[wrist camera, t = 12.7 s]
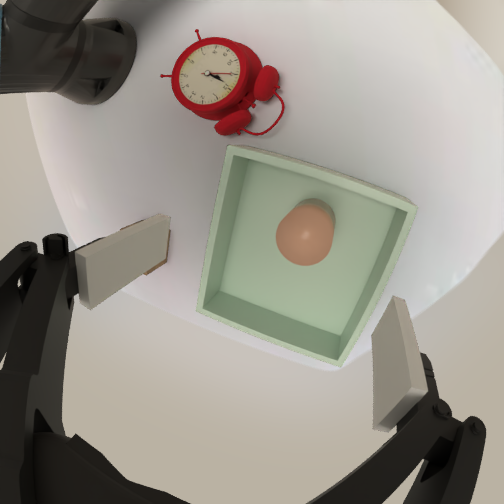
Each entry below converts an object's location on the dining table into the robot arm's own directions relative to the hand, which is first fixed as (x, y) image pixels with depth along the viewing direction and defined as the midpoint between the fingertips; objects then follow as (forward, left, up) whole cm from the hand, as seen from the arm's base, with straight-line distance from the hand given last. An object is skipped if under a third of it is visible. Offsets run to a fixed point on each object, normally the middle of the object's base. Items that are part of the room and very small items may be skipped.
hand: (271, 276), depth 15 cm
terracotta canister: (0, -1, -17) cm, 17 cm away
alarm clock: (-13, +12, -18) cm, 25 cm away
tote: (0, -5, -18) cm, 18 cm away
